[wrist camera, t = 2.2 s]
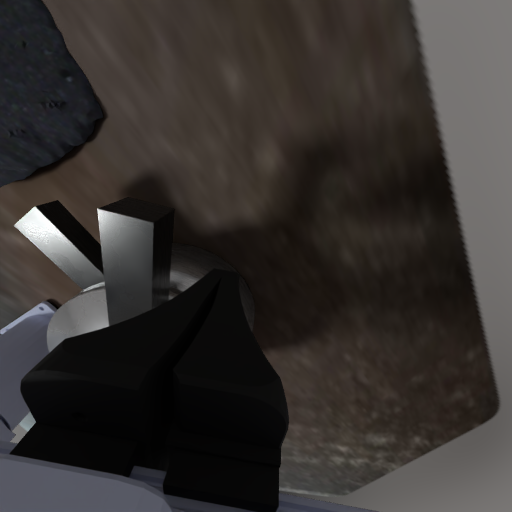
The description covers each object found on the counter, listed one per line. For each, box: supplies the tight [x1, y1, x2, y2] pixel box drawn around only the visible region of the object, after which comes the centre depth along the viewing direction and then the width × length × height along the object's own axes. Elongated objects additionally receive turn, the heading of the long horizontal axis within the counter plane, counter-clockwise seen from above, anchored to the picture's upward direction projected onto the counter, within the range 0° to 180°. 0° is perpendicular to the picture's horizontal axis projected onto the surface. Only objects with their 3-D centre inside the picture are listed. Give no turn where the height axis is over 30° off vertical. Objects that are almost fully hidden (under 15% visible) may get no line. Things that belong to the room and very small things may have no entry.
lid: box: [47, 197, 183, 353], centre depth 15 cm, size 20×15×3 cm
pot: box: [14, 200, 255, 332], centre depth 20 cm, size 20×14×6 cm
